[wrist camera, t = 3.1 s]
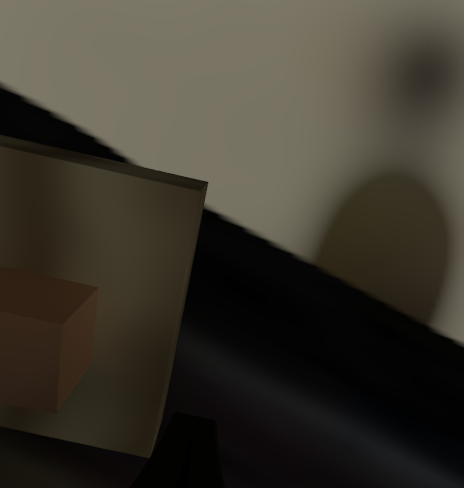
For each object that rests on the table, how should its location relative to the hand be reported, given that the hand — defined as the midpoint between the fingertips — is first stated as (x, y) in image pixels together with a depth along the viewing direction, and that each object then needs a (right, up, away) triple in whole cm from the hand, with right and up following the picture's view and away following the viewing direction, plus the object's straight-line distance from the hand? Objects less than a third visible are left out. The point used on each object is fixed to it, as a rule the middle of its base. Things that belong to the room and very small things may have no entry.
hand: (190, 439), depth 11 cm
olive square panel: (-8, +4, +7) cm, 11 cm away
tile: (-7, +3, +4) cm, 9 cm away
